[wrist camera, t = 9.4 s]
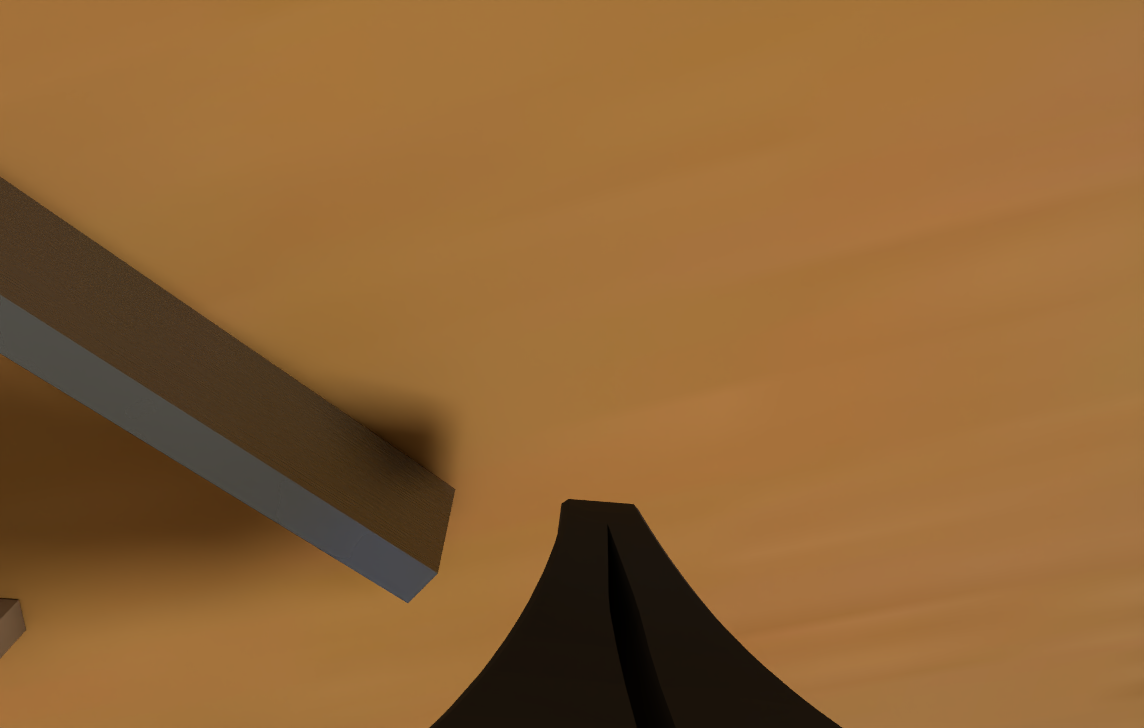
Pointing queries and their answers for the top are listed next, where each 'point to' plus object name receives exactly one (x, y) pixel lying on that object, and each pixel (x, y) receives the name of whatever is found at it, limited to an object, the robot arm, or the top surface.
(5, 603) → the bay
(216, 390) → the gate
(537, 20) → the top surface
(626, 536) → the robot arm
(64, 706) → the top surface
